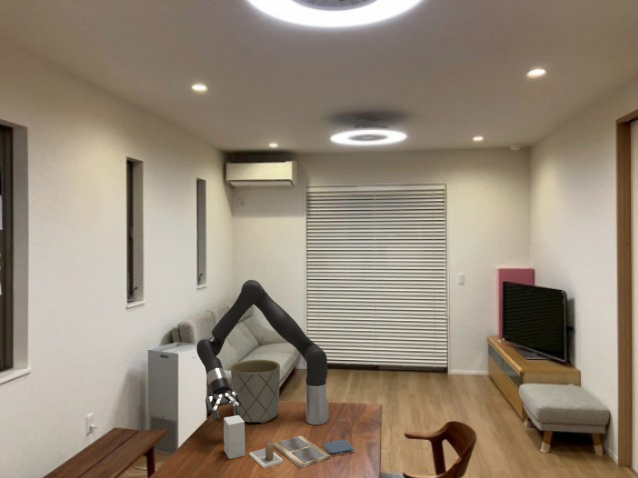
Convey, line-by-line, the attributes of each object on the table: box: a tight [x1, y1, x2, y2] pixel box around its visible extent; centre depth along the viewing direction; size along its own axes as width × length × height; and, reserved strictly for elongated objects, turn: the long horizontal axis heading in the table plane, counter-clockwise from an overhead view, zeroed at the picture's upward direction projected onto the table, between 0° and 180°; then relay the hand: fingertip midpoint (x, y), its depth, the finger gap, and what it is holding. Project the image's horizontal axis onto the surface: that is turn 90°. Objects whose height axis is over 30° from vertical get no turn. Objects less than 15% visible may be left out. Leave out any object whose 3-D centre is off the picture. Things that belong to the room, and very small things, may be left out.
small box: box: [223, 415, 246, 460], centre depth 178 cm, size 8×6×13 cm
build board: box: [273, 435, 331, 469], centre depth 178 cm, size 13×21×1 cm, turn 33°
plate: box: [248, 440, 284, 469], centre depth 173 cm, size 8×12×7 cm, turn 33°
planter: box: [230, 359, 281, 424], centre depth 215 cm, size 23×23×24 cm
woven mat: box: [322, 439, 355, 457], centre depth 181 cm, size 10×11×2 cm
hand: (228, 418), depth 183 cm, fingers open, 8 cm apart
